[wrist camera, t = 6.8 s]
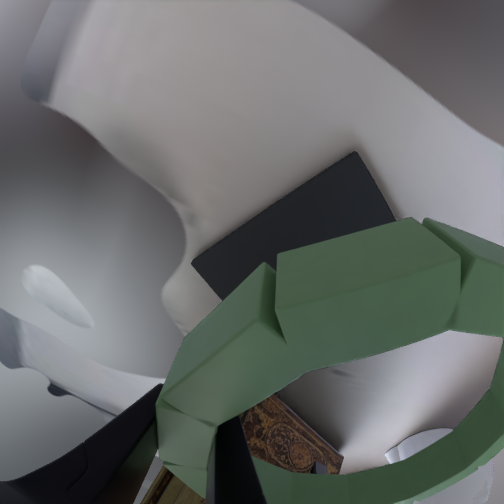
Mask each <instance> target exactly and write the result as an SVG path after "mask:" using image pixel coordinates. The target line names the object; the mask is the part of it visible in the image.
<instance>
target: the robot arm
mask: <svg viewBox="0 0 504 504" xmlns="http://www.w3.org/2000/svg"><path fill="white" fill-rule="evenodd" d="M163 385H164V384H161V383H160V384H158V385H156V386H155V387H154V388H153V389H151V390H150V391H149V392H148V393H146V394H145V395H144V396H143V397H141V398H140V399H139V400H137V401H136V402H135V403H134V404H132V405H131V406H130V407H129V408H127V409H126V410H125V411H123V412H122V413H121V414H119V415H118V416H117V417H116V418H114V419H113V420H112V421H110V422H109V423H108V424H106V425H105V426H104V427H102V428H101V429H100V430H98V431H97V432H96V433H94V434H93V435H92V436H90V437H89V438H88V439H86V440H85V441H84V443H83V442H82V443H81V444H80V445H78V446H77V447H75V448H74V449H73V450H71V451H70V452H68V453H67V454H65V455H63V456H62V457H60V458H58V459H56V460H55V461H53V462H51V463H49V464H47V465H45V466H43V467H41V468H39V469H37V470H35V471H33V472H31V473H29V474H27V475H25V476H22V477H20V478H18V479H15V480H10V481H0V504H133V503H134V501H135V498H136V496H137V494H138V492H139V490H140V487H141V485H142V483H143V481H144V479H145V476H146V474H147V472H148V470H149V468H150V465H151V463H152V461H153V459H154V457H155V454H156V452H157V450H158V437H157V422H156V402H157V399H158V397H159V395H160V392H161V390H162V388H163ZM310 474H328V468H327V466H325V465H323V464H321V463H319V462H317V461H315V463H314V464H313V466H312V469H311V472H310ZM263 493H264V492H263V489H262V486H261V483H260V480H259V477H258V474H257V471H256V468H255V465H254V462H253V459H252V456H251V452H250V449H249V446H248V443H247V440H246V436H245V433H244V430H243V427H242V423H241V420H240V417H239V415H237V416H235V417H233V418H232V419H230V420H228V421H226V422H224V423H222V424H220V425H219V426H218V429H217V433H216V435H215V437H214V441H213V445H212V449H211V453H210V457H209V461H208V471H207V484H206V498H205V504H268V503H267V500H266V497H265V495H264V494H263Z"/></svg>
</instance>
